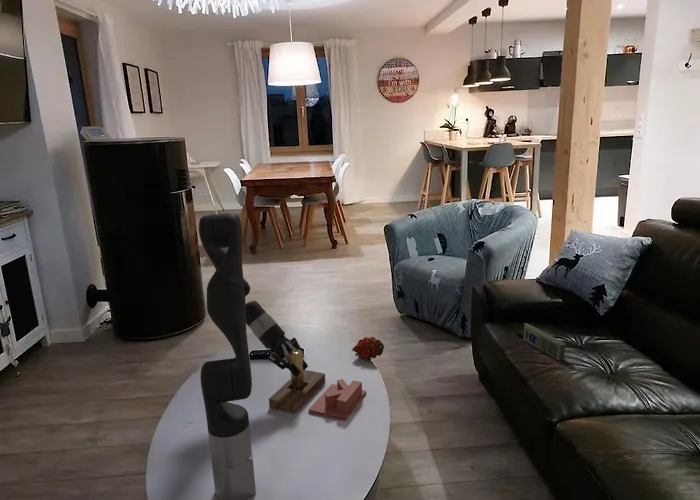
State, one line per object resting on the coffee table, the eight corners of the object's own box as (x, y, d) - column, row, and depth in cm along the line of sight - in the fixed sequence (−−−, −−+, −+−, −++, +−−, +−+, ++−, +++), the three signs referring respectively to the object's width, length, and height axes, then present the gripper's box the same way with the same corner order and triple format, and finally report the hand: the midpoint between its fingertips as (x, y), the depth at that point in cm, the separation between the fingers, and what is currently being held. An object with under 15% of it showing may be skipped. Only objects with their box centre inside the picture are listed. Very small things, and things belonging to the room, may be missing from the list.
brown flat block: (269, 407, 152) (268, 398, 151) (301, 377, 170) (301, 369, 169) (295, 413, 148) (294, 404, 148) (325, 381, 166) (324, 373, 165)
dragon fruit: (387, 361, 182) (355, 367, 182) (383, 341, 187) (352, 346, 188) (385, 351, 175) (351, 356, 176) (381, 330, 181) (349, 335, 181)
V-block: (308, 412, 149) (307, 397, 148) (332, 386, 163) (331, 372, 162) (345, 420, 144) (344, 405, 143) (366, 393, 158) (365, 379, 157)
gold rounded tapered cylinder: (306, 384, 158) (304, 352, 155) (295, 389, 155) (293, 356, 153) (299, 380, 161) (297, 348, 158) (289, 384, 158) (286, 352, 156)
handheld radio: (558, 362, 174) (512, 335, 197) (565, 361, 176) (519, 334, 198) (560, 344, 173) (514, 319, 196) (567, 343, 174) (520, 318, 197)
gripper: (260, 332, 150) (298, 375, 148) (285, 315, 163) (320, 355, 161) (247, 345, 153) (283, 388, 151) (272, 328, 166) (306, 368, 164)
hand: (302, 371), depth 156 cm, fingers closed on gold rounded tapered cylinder, 4 cm apart
